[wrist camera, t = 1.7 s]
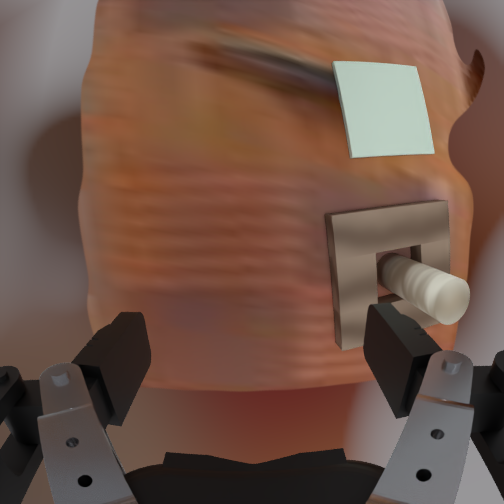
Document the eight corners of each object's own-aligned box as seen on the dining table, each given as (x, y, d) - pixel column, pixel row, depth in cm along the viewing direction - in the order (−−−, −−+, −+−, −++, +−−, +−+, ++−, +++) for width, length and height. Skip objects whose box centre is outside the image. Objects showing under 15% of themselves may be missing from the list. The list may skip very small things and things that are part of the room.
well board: (324, 214, 35) (331, 215, 33) (436, 199, 36) (447, 200, 33) (335, 342, 38) (342, 351, 36) (437, 314, 39) (447, 320, 36)
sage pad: (331, 63, 32) (333, 61, 31) (413, 68, 33) (416, 66, 32) (350, 158, 34) (352, 157, 33) (431, 154, 35) (434, 153, 34)
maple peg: (374, 255, 36) (436, 283, 24) (404, 250, 37) (470, 274, 24) (376, 290, 37) (434, 330, 24) (405, 283, 37) (468, 317, 25)
